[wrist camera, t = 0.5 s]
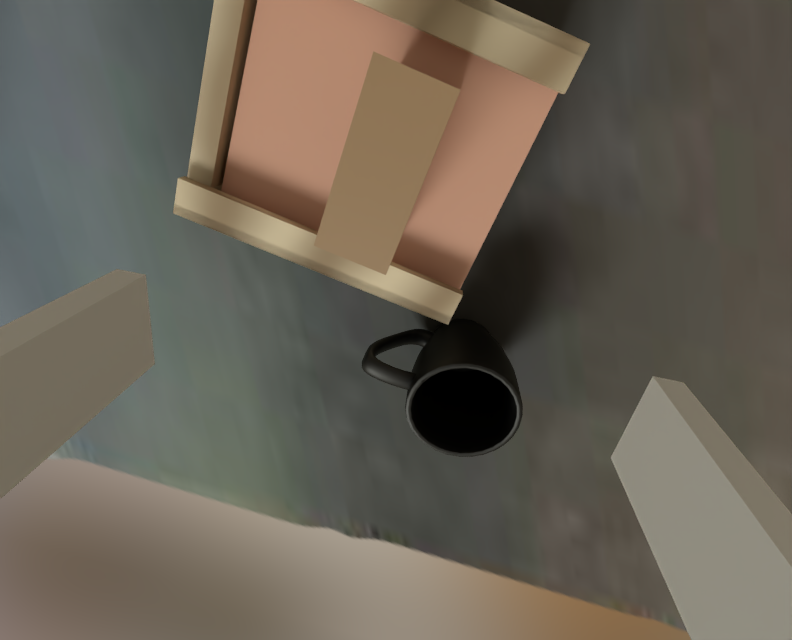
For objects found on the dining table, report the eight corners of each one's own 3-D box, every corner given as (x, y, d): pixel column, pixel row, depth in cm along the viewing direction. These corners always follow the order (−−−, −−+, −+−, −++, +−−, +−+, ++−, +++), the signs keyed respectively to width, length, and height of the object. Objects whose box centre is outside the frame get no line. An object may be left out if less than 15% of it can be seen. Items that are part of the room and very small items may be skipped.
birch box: (243, 185, 36) (173, 213, 27) (295, -54, 28) (221, -125, 19) (449, 270, 37) (447, 324, 28) (549, 61, 29) (590, 44, 20)
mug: (402, 269, 37) (386, 318, 29) (526, 330, 38) (547, 396, 30) (363, 344, 41) (339, 407, 32) (478, 398, 42) (484, 473, 33)
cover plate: (228, 196, 29) (137, 233, 21) (277, -53, 23) (177, -141, 15) (455, 290, 30) (455, 361, 22) (562, 75, 24) (618, 60, 16)
